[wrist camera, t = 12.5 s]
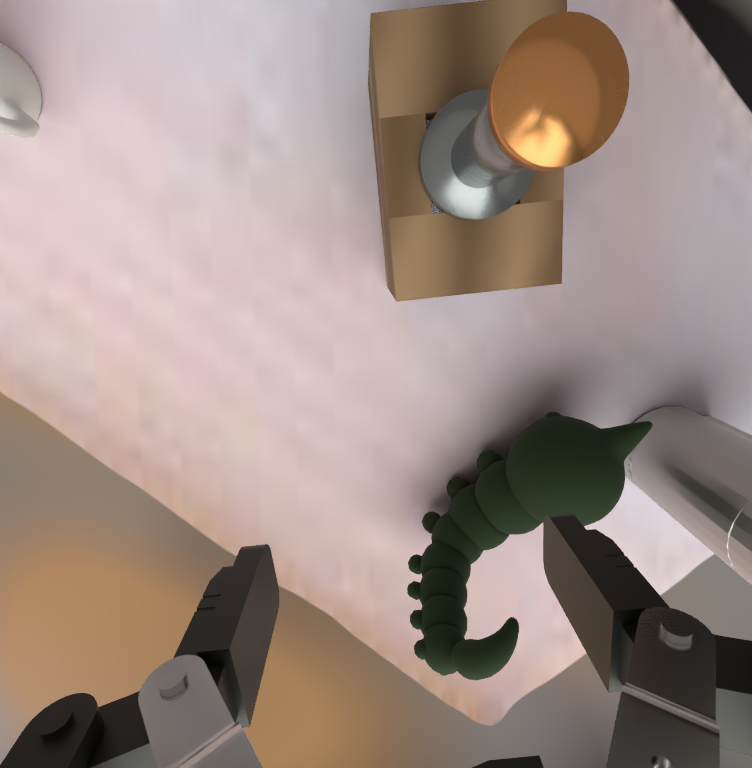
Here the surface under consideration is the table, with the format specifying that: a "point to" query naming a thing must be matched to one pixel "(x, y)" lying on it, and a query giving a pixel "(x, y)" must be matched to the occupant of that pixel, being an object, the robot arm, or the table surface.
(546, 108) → the pin
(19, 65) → the mug
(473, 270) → the wooden block with hole
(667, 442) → the robot arm
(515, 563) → the table surface
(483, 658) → the toy figurine
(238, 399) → the table surface
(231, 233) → the table surface
